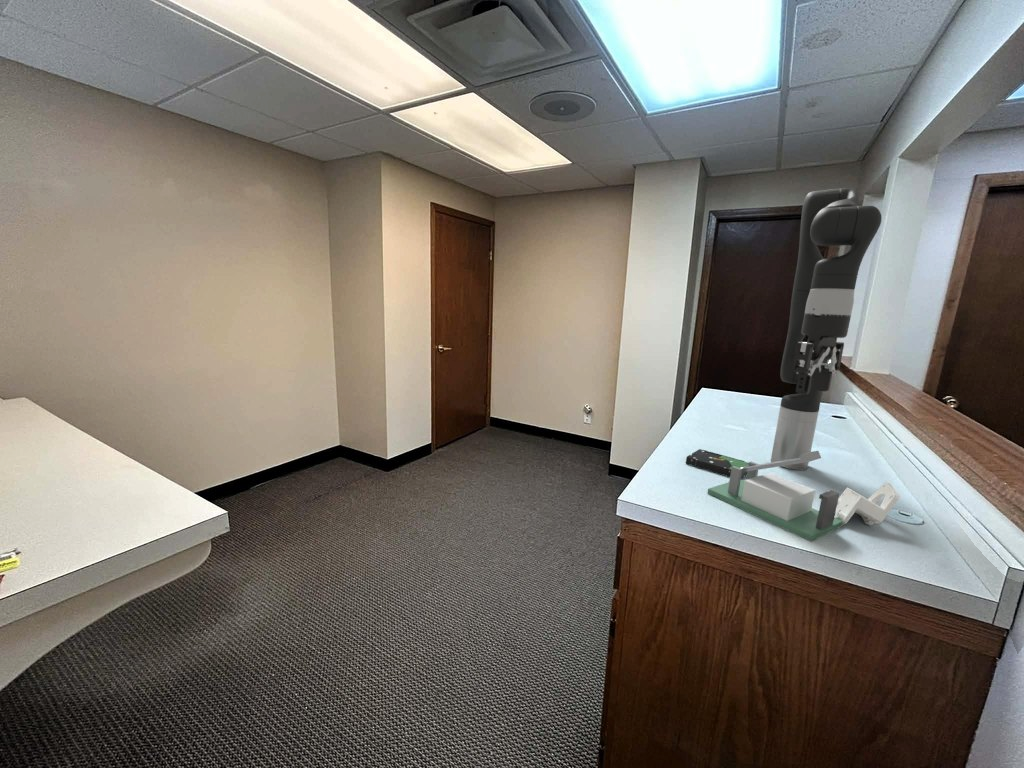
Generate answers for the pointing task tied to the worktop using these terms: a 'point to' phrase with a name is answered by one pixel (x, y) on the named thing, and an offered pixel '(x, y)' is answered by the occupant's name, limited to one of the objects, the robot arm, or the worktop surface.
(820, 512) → the post
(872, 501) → the mounting bracket
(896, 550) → the worktop surface
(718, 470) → the disk drive
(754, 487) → the board
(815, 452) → the strap
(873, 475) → the worktop surface
